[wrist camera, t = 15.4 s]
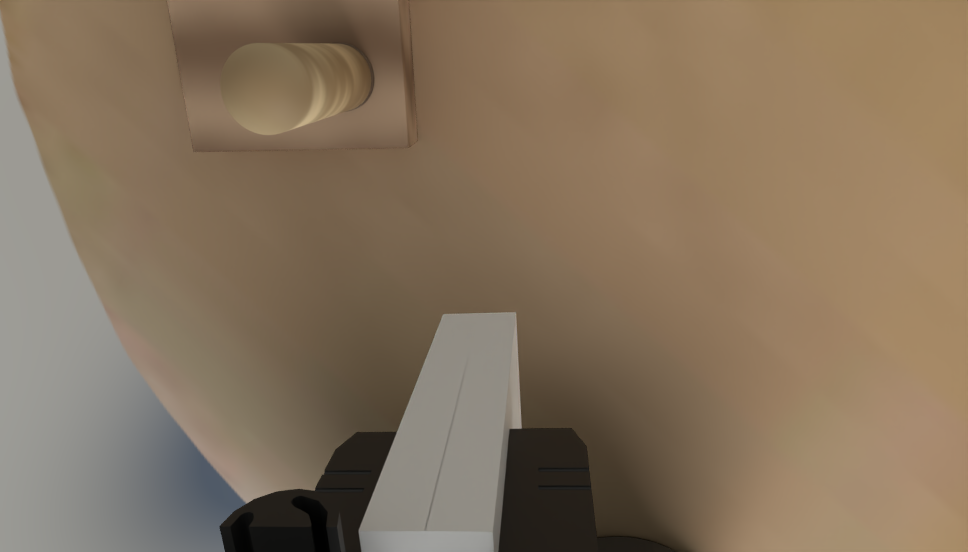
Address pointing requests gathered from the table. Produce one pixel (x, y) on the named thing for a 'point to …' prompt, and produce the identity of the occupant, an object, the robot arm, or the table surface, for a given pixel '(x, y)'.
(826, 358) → the table surface
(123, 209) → the table surface
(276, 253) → the table surface
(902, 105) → the table surface
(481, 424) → the robot arm
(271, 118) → the wooden base block
